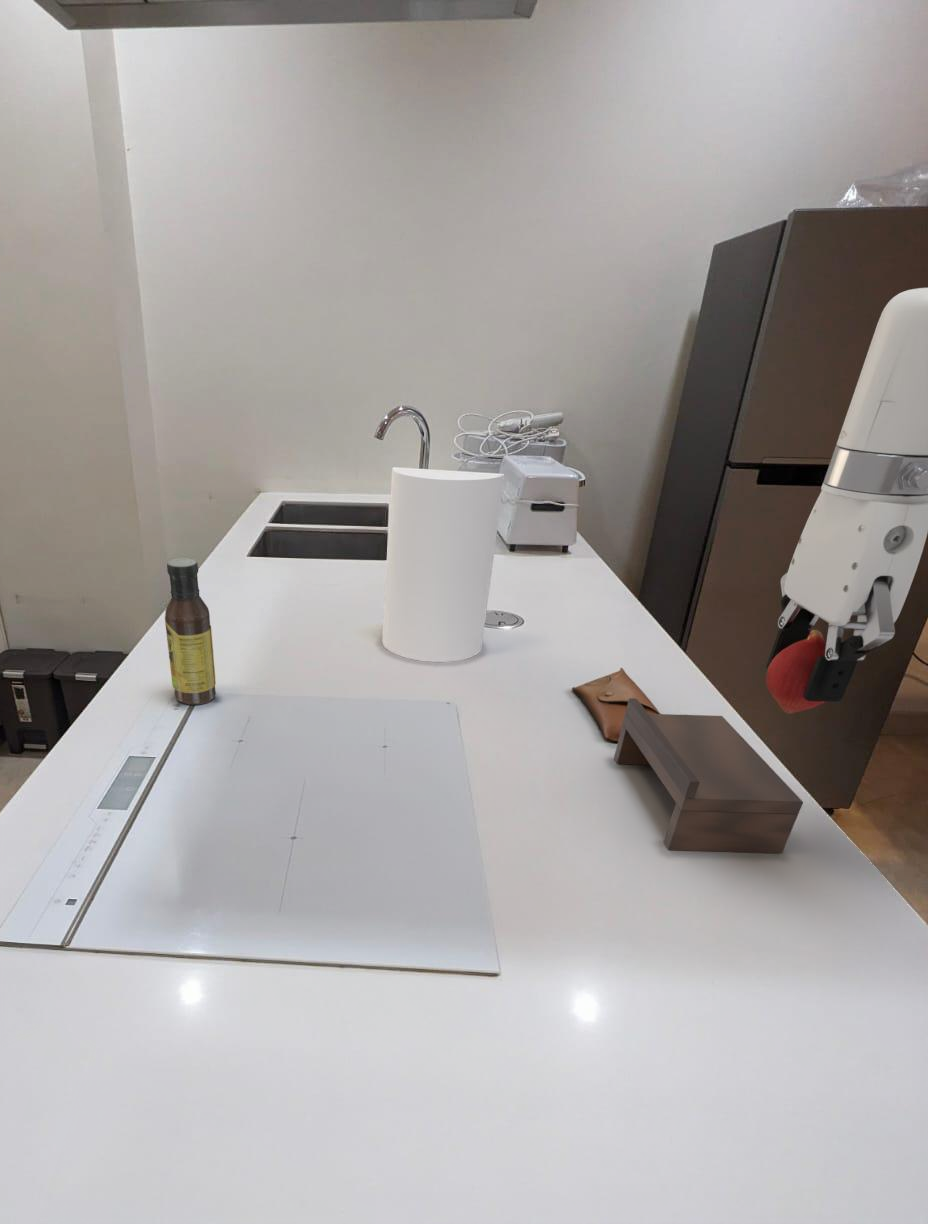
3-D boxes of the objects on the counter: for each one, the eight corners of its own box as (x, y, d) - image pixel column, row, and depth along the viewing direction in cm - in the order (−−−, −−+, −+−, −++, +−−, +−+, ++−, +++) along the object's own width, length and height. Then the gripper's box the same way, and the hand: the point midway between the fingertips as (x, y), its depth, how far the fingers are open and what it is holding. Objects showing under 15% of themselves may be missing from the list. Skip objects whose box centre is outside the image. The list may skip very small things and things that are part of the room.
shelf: (707, 761, 96) (727, 700, 92) (781, 853, 79) (810, 785, 75) (613, 758, 97) (628, 698, 92) (668, 850, 80) (690, 781, 75)
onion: (824, 708, 72) (856, 627, 67) (824, 731, 67) (859, 647, 63) (757, 695, 74) (784, 616, 70) (753, 717, 70) (782, 634, 65)
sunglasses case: (567, 685, 115) (597, 650, 112) (601, 707, 117) (631, 673, 114) (606, 740, 99) (642, 701, 96) (644, 764, 102) (680, 727, 99)
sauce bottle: (182, 687, 113) (169, 553, 103) (221, 690, 112) (213, 555, 102) (167, 704, 108) (151, 565, 97) (208, 708, 107) (198, 568, 96)
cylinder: (475, 667, 122) (499, 483, 107) (372, 655, 126) (381, 475, 111) (486, 632, 136) (508, 465, 121) (393, 622, 140) (403, 459, 125)
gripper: (1010, 496, 52) (901, 727, 62) (863, 459, 67) (793, 651, 76) (903, 495, 52) (810, 726, 62) (779, 458, 67) (720, 650, 77)
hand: (802, 682), depth 69 cm, fingers closed on onion, 5 cm apart
